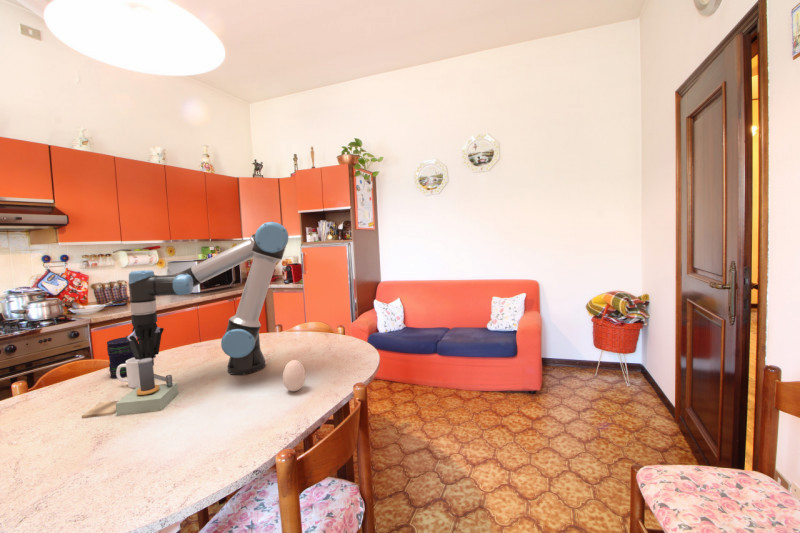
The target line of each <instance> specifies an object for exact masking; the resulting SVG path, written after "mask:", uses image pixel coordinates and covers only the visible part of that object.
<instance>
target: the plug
mask: <svg viewBox="0 0 800 533" xmlns="http://www.w3.org/2000/svg"><path fill="white" fill-rule="evenodd" d="M138 367H139V377H140V387H141V388H140V389H138V390H137V391H136V392H137V395H141V396H146V395H153V394H154V393H155V392H156V391H158V390H159V385H160V384H156V383H155V378H154V374H155V373H154V366H153V360H152V358H145V359H141V360H139V361H138Z"/></svg>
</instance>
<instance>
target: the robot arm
mask: <svg viewBox="0 0 800 533" xmlns="http://www.w3.org/2000/svg"><path fill="white" fill-rule="evenodd" d="M288 242H289V232H288V231H287V229H286V228H285V226H284V225H282V224H281V223H278V222H276V221H275V222H274V221H268V222H267V221H266V222H264V223H262V224H261V225H260V226H259V227H258V228H257V229H256V231H255V233H254V234H252V235H250V237H249V239H247V240H245V241H243V242H240V243H238V244H237V245H234V246H232V247H231V248H228V249H226V250H224V251H222V252H219V253H217V254H216V255H214V256H211V257H209V258H207V259H206V260H203V261H201V262H199V263H197V264H194V265H193V266H190V267H189V268H187V269H184V270H182V271H180V272H177V273H174V274H165V275H164V274H163V275H162V274H161V275H156V274H155V271H154V270H151V269H147V270H146V269H145V270H132V271H130V272H129V273H128V284H127V285H128V291H129V300H130V301H129V302H130V303H129V304H130V305H129V306H130V313H131V316H130V317H131V318H130V319H131V325H132V329H131V333H130V334H129V335H126V336H125V337H126V339H127V340H128V341H129V343H130V346H131V349H132V352H133V355H134V357H135V359H136V360H141V359H145V358H152V360H153V367H154V366H155V362H154V361H155V360H154V358H156V357H157V355H159V352H160V348H161V341H162V334H163V333H164V329H165V328H164V327H159V326H158V324H157V322H158V312H156V311H157V310H158V309H157V298H156V297H161V296H163V297H164V296H182V295H190V294H192V292H193V290H194V287H197V286H198V285H200V284H202V283H204V282H207V281H208V280H211V279H212V278H214V277H217V276H219V275H221V274H222V273H224V272H227V271H229V270H230V269H233V268H235V267H236V266H238V265H242V263H245V262H247V261H249V260H251V259H252V262H251V265H250V269H249V272H248V276H247V277H246V278H247V279H246V281H245V285H244V287H243V291H242V294H241V297H240V301H239V303H238V306H237V309H236V312H235V315H233V316H231V317H230V318H228V322H227V323H228V324H227V327H226V329H225V331H224V332H225V333H224V334H223V336H222V337H221V340H220V341H221V343H220V346H221V350H222V352H224V354H225V355H226V356H229V360H228V362H227V366H226V367H227V368H226V370H227V372H228V374H230V375H235V376H236V375H237V376H239V375H240V376H241V375H248V374H252V373H256V372H258V371H261V370H263V369H264V368H265V367H266V359H265V357H264V354H263V352H262V349H261V343H260V342H261V341H260V329H261V326H262V324H261V322H260V320H259V319H260V315H261V313H262V309H263V306H264V303H265V300H266V297H267V293H268V291H269V287H270V284H271V282H272V277H273V275H274V272H275V268H276V265H277V263H278V262H280V261H282V260H283V256H284V253H285V251H286V247H287V245H288Z"/></svg>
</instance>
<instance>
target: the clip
mask: <svg viewBox="0 0 800 533" xmlns="http://www.w3.org/2000/svg"><path fill="white" fill-rule="evenodd" d="M155 379H156V380H160V381H163V382H166V383H165V384H167V387H171V386H173V383H174V382H173V375H172V374H167V375H165V376H163V375H160V374H156V373H154V380H155Z"/></svg>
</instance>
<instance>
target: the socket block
mask: <svg viewBox="0 0 800 533" xmlns="http://www.w3.org/2000/svg"><path fill="white" fill-rule="evenodd" d="M172 383H173V386H171V387H167V384H166V383H163V384H162V383H160V384H158V385H159V390H158V391H156V392H155V393H154V394H153V395H146V396H141V395H137V392H136V391H137V390H138V389H140V388H141V387H137V388H133V390H131V391H130V392H129V393H127V394H126V395H125V396H124V397H122V398H121V399H119V400H117V401H118V402H117V403H116V416H122V415H123V416H124V415H130V414H131V415H133V414H139V413H140V414H141V413H147V412H157V411H162V410H163V409H164V408H166V406H167V405H168V404H170V402H171V401H172V400H173V399H174V398H175V397H176V396H177V395H178V394H179V387H178V386H179V385H178V382H172Z"/></svg>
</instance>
